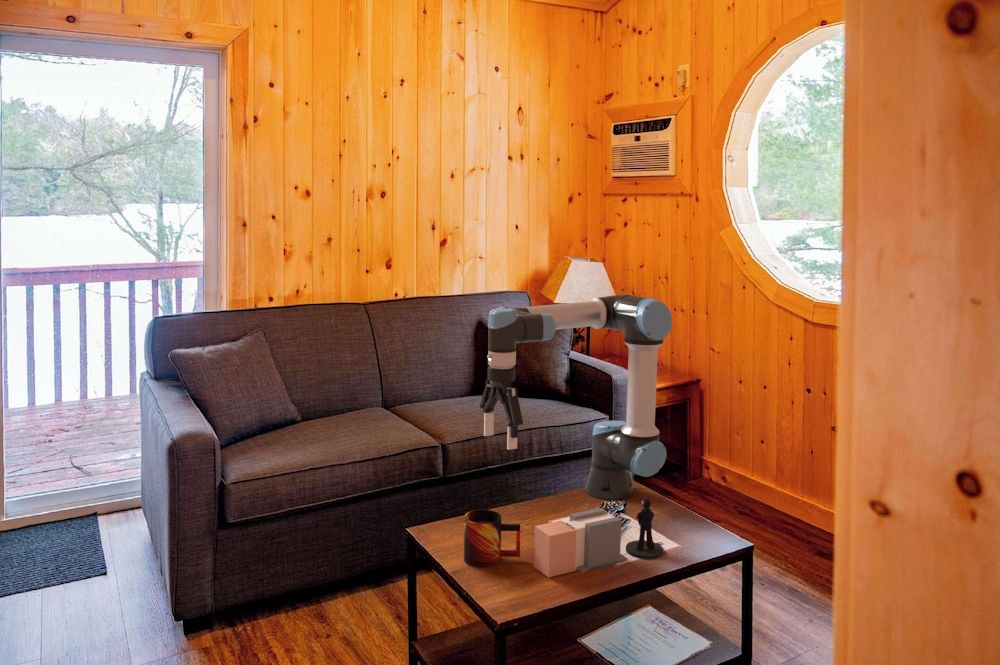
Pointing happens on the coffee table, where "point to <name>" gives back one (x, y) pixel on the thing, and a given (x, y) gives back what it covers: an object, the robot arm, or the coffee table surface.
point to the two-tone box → (596, 539)
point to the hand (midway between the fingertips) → (500, 442)
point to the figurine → (641, 546)
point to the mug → (486, 539)
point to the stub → (554, 548)
